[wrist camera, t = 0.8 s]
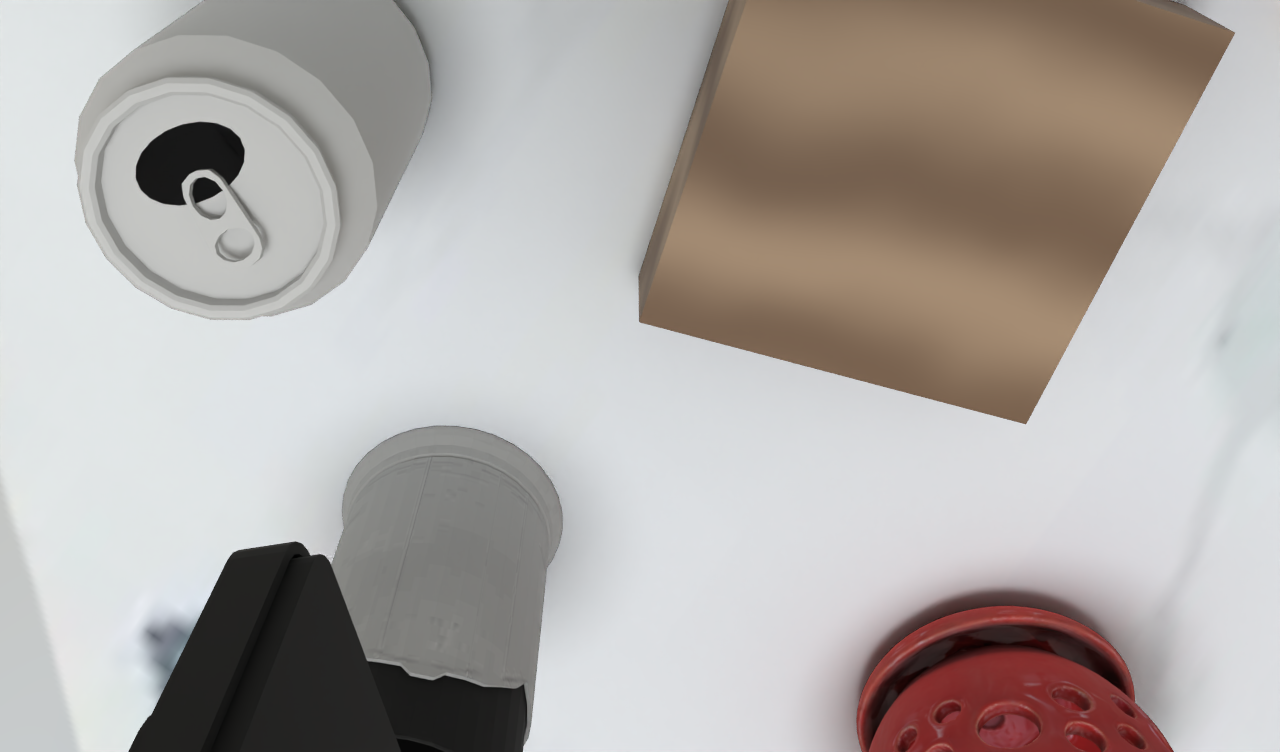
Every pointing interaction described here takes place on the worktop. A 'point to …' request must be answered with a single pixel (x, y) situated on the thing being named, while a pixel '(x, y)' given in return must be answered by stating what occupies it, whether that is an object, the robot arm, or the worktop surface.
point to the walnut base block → (920, 183)
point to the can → (252, 150)
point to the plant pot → (1004, 689)
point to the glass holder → (449, 584)
